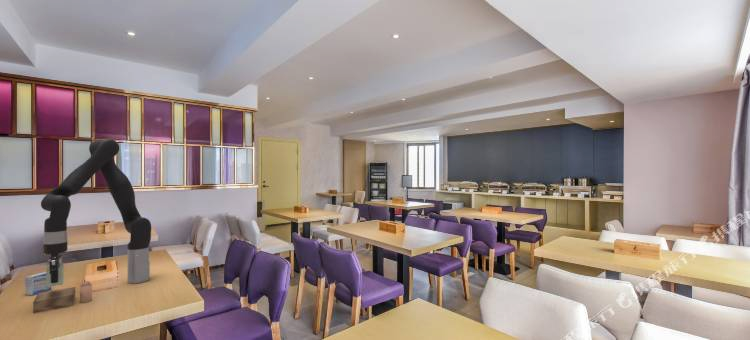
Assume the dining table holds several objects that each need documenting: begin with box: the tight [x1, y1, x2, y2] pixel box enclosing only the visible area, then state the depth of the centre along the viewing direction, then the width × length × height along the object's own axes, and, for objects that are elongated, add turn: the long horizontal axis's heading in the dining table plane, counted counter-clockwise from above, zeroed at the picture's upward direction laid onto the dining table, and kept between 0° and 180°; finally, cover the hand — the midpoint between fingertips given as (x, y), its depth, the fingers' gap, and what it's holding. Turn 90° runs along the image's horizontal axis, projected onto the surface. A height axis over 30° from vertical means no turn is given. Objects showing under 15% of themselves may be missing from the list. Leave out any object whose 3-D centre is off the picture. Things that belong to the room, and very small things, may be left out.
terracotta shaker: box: [79, 280, 93, 304], centre depth 147 cm, size 4×4×9 cm
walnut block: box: [32, 286, 76, 314], centre depth 143 cm, size 12×12×5 cm
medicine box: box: [24, 271, 52, 296], centre depth 157 cm, size 8×4×9 cm, turn 168°
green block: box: [45, 263, 65, 288], centre depth 143 cm, size 5×5×8 cm
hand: (55, 280), depth 143 cm, fingers closed on green block, 5 cm apart
